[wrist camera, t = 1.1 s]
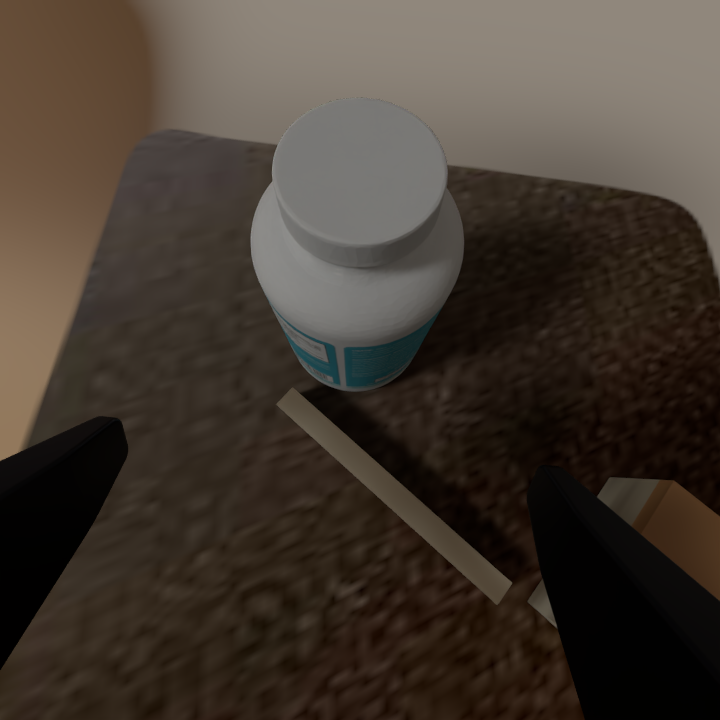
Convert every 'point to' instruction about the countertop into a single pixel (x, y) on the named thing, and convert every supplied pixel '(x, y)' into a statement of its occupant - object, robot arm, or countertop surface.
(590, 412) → the countertop surface
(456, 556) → the rail
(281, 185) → the pill bottle
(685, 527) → the block
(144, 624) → the countertop surface
